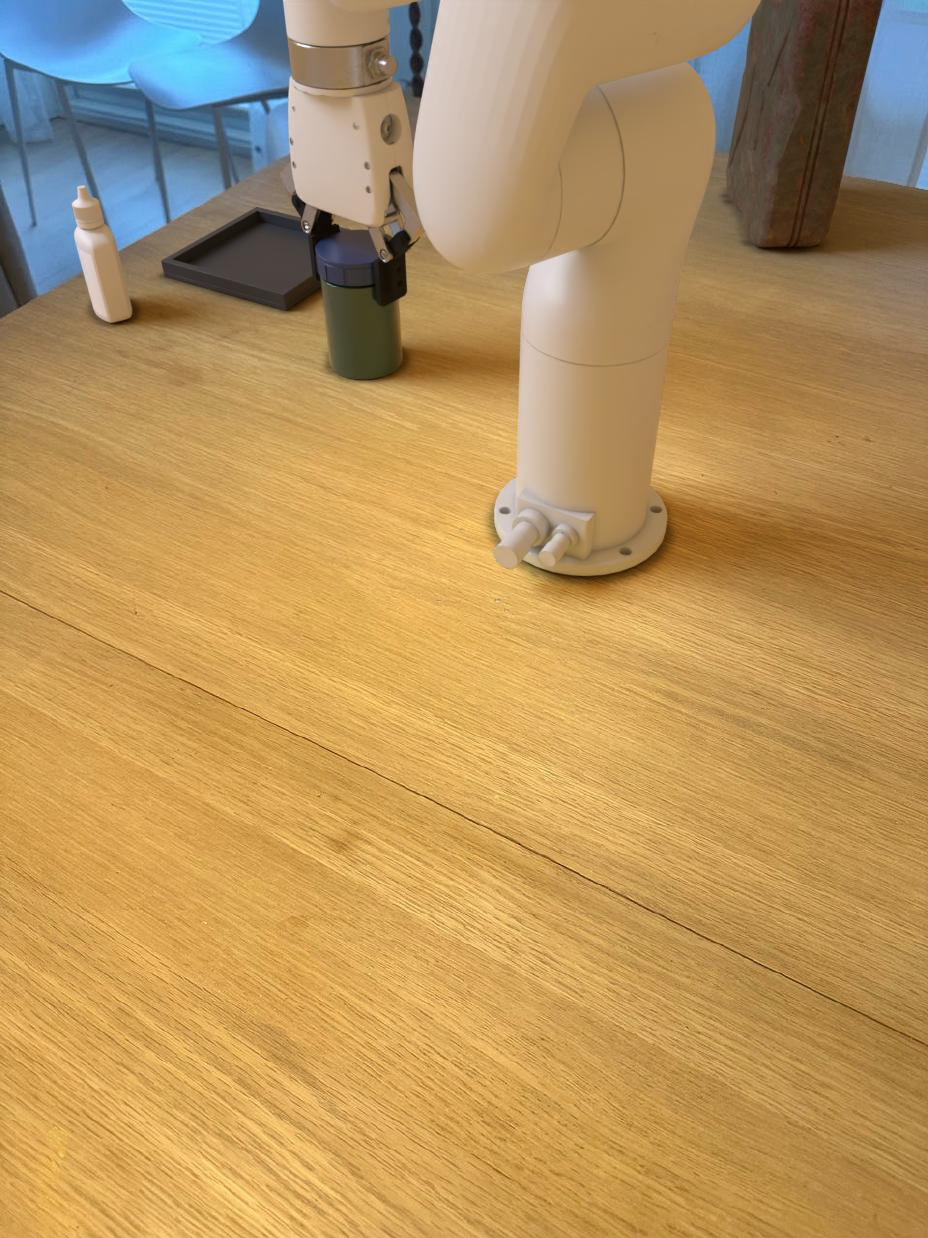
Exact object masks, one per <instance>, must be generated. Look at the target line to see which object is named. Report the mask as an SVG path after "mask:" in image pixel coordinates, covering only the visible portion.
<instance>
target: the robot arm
mask: <svg viewBox="0 0 928 1238" xmlns="http://www.w3.org/2000/svg"><path fill="white" fill-rule="evenodd" d="M421 1H423V0H282V3H283V12H284V13H283V14H284V20H285V22H284V23H285V29H286V38H287V39H286V40H287V47H288V55H289V64H290V71H291V73H290V74H291V75H290V76H289V81H288V99H287V105H288V106H287V116H288V117H287V122H288V123H287V124H288V126H287V127H288V142H289V143H288V144H289V145H288V146H289V155H290V156H289V157H290V160H289V161H288V163H287V164H286V165H285V166H284V167H283V168H282V170H281V171H280V172H279V175H278V177H279V180H280V182H281V184H282V185H283V187H284V188H285V190H286V192H287V194H288V195H289V197H291V199H290V201H291V205H292V206H293V208H294V209H295V211H296V212H297V214H298V216H299V217H301V218H302V221H301V226H302V229H303V231H304V232H305V233H307V234H308V233H309V234H310V235H308V240H309V249H310V258H311V266H312V275H313V278H314V279H315V280H318V281H320V275H319V273H318V272H317V266H316V250H315V249H316V245H317V244H318V242H319V241H320V240H322V239H323V238H325V237H327V236H329V235H331V234H334V233H337V232H340V229H339V227H340V224H338V223H334V221H335V218H336V216H337V217H339V218H342V219H345V220H348V221H351V222H353V223H356V224H359V225H362V226H365V227H367V230H369V232H370V235H371V238H372V240H373V243H374V245H375V248H376V250H377V253H378V255H379V258H378V259H376V260H374V264H373V265H374V278H375V292H376V302H377V304H378V305H380V306H382V307H385V306H387V305H389V304H390V303H392V302H394V301H396V300H398V299H399V300H400V299H402V298H403V297H405V296H406V295H407V293H408V280H407V278H408V277H407V260H406V253H409V252H410V251H412V249H413V248H412V247H413V246H414V245H415V244H416V243H417V242H418V241H419V240H420V239H421V236H422V235H423V234H424V232H425V234H426V237H427V238H428V240H429V242H430V243H431V245H432V246H433V248H434V249H435V250H436V252H437V253H439V255H440V256H442V258H443V259H444V260H446V261H447V262H448V263H450V264H451V265H453V266H454V267H456V268H459V269H461V270H463V271H466V272H469V273H473V274H477V275H478V274H479V275H497V274H498V275H499V274H503V273H507V272H508V273H509V272H512V271H516V270H520V269H524V268H526V267H529V268H528V271H527V275H526V279H525V284H524V287H523V294H522V302H521V316H520V317H521V320H520V339H519V341H520V342H519V371H518V372H519V374H518V375H519V377H518V379H519V380H518V405H517V406H518V408H517V410H518V411H517V414H518V415H517V442H516V443H517V445H516V473H515V474H516V476H515V477H514V478H512V479H511V480H509V481H508V482H507V483H506V484H505V486H503V488H502V489H501V490H500V491H499V493H498V495H497V498H496V499H495V505H494V509H493V512H494V513H493V520H494V521H493V524H494V527H495V531H496V534H497V536H498V537H499V539H500V542H499V543H498V544H497V545H496V547H495V548H494V549H493V558H494V559H495V561H496V563H497V564H498V565H499V566H500V567H502V568H504V569H507V570H514V569H516V568H517V567H518V566H519V565H520V563H521V562H522V561H523V562H526V563H528V564H531V565H532V566H534V567H536V568H539V569H542V570H546V571H548V572H552V573H556V574H561V575H567V576H577V577H578V576H579V577H580V576H581V577H592V576H604V575H610V574H614V573H615V574H616V573H620V572H623V571H625V570H628V569H630V568H633V567H636V566H638V565H639V564H641V563H643V562H645V561H646V560H648V559H649V558H650V557H651V556H652V555H653V554H655V553H656V552H657V550H658V549H659V548H660V546H661V545H662V544H663V542H664V540H665V536H666V533H667V527H668V518H669V517H668V510H667V507H666V505H665V503H664V500H663V498H662V497H661V495H660V494H659V493H658V491H657V490H656V489H655V488H653V486H651V482H652V475H653V469H654V468H653V467H654V459H655V452H656V446H657V438H658V431H659V425H660V417H661V408H662V401H663V394H664V387H665V380H666V372H667V365H668V357H669V351H670V342H671V337H672V334H673V327H674V319H675V312H676V305H677V298H678V293H679V292H678V291H679V285H680V281H681V276H682V270H683V265H684V263H685V258H686V253H687V249H688V245H689V242H690V239H691V236H692V234H693V233H692V232H693V229H694V227H695V223H696V220H697V218H698V215H699V212H700V209H701V206H702V203H703V200H704V197H705V195H706V191H707V189H708V184H709V181H710V177H711V173H712V170H713V169H712V168H713V164H714V160H715V159H714V158H715V152H716V145H717V144H716V143H717V142H716V141H717V133H716V132H717V125H716V115H715V110H714V106H713V102H712V98H711V96H710V94H709V91H708V88H707V87H706V86H707V85H706V84H705V82H704V81H703V79H702V78H701V76H700V75H699V73H698V72H697V70H695V68H694V67H692V65H691V64H690V63H688V62H689V61H692V60H695V59H698V58H701V57H703V56H707V55H709V54H711V53H713V52H715V51H717V50H719V49H720V48H723V47H724V46H726V45H727V44H728V43H730V42H731V41H732V40H734V38H736V37H737V36H738V35H739V34H740V33H741V32H742V31H743V30H744V28H746V26H747V25H748V24H749V22H750V21H751V20H752V16H753V14H754V13H755V11H756V9H757V7H758V5H759V4H760V2H761V0H439V6H438V11H437V15H436V20H435V21H436V22H435V25H434V31H433V35H432V36H433V37H432V43H431V47H430V51H429V52H430V53H429V57H428V63H427V67H426V73H425V77H424V78H425V79H424V84H423V88H422V93H421V98H420V104H419V110H418V114H417V120H416V126H415V134H414V140H413V138H412V132H411V130H412V129H411V125H410V120H409V114H408V109H407V105H406V100H405V97H404V94H403V90H402V86H401V83H400V82H398V81H396V80H394V79H393V77H394V76H395V75H396V73H397V72H398V68H399V63H398V59H397V57H395V56H393V55H392V47H391V46H392V45H391V26H390V25H391V21H390V9H392V8H396V7H402V6H407V5H410V4H412V3H415V2H421ZM403 218H404V220H403ZM387 225H388V227H389V229H390V233H391V237H392V239H391V240H390V241H388V238H387V236H386V234H387V233H386V230H385V228H384V227H385V226H387Z"/></svg>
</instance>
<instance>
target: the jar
mask: <svg viewBox="0 0 928 1238" xmlns="http://www.w3.org/2000/svg"><path fill="white" fill-rule="evenodd" d="M320 281H321V287H320V290H321V300H322V307H323V317H324V327H325V334H326V335H325V336H326V344H327V352H328V361H329V367H330V368H331V369H332V371H334V373H336V374H337V375H339V376H341V377H344V378H347V379H352V380H353V379H354V380H375V379H378V378H383V377H385V376H389V375H391V374H392V373H394V372H396V371H397V370H398V369H399V368H400V367H401V365H402V364H403V359H404V357H403V341H402V339H403V338H402V325H401V324H402V323H401V322H402V321H401V307H400V299H398V300H396V301H394V302H392V303H390V304H389V305H387V306H385V307H382V306H380V305H378V304H377V302H376V292H375V284H371V285H364V286H344V285H338V284H334V283H331V282H329V281H326V280H325V279H323V278H322V277H321V276H320Z"/></svg>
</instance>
